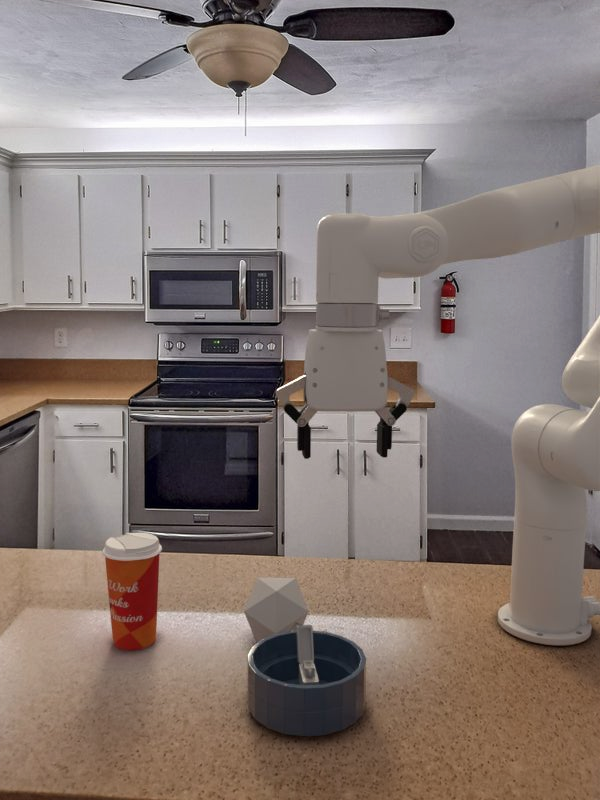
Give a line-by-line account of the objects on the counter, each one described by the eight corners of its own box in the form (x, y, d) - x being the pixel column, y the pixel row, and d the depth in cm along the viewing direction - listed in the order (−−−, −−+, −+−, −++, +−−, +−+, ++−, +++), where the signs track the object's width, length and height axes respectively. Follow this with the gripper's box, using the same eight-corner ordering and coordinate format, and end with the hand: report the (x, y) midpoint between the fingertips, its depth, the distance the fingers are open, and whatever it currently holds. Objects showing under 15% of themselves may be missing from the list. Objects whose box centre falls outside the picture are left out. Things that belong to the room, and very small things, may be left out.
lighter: (318, 718, 80) (319, 649, 79) (302, 719, 79) (303, 650, 78) (310, 684, 87) (311, 620, 86) (295, 685, 86) (296, 621, 85)
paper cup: (93, 640, 98) (90, 540, 96) (141, 622, 104) (139, 527, 102) (127, 660, 93) (124, 555, 91) (175, 640, 99) (174, 540, 97)
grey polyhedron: (284, 666, 93) (325, 596, 95) (225, 627, 94) (267, 559, 96) (285, 657, 102) (322, 594, 104) (230, 622, 103) (269, 560, 105)
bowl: (352, 673, 90) (353, 627, 90) (375, 737, 77) (377, 684, 77) (245, 679, 89) (245, 632, 88) (250, 745, 76) (250, 691, 75)
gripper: (407, 318, 94) (404, 448, 97) (273, 317, 92) (273, 450, 95) (424, 320, 87) (419, 461, 89) (278, 319, 85) (277, 463, 87)
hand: (344, 455), depth 92 cm, fingers open, 9 cm apart
